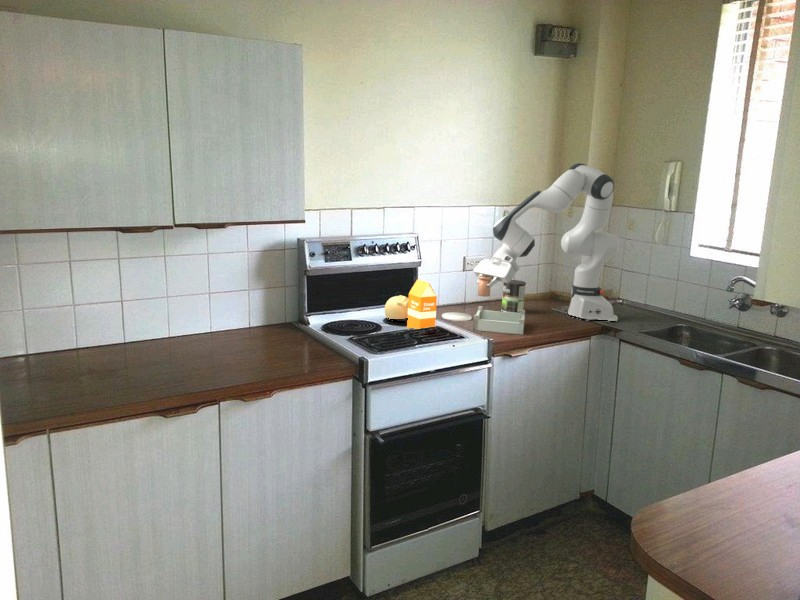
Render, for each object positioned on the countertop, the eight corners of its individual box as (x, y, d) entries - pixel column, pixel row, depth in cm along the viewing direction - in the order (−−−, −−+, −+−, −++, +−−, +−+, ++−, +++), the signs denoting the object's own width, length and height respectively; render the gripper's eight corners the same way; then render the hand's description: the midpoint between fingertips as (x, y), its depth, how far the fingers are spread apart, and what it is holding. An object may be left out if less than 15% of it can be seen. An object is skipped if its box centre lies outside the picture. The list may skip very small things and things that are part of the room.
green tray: (524, 323, 290) (525, 310, 288) (522, 334, 270) (524, 320, 269) (477, 319, 293) (478, 306, 292) (473, 330, 274) (474, 315, 273)
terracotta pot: (491, 294, 286) (492, 276, 285) (490, 297, 281) (491, 278, 279) (477, 293, 287) (478, 275, 286) (476, 296, 282) (477, 277, 280)
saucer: (473, 316, 300) (473, 313, 300) (470, 322, 288) (470, 320, 287) (444, 313, 302) (444, 311, 302) (440, 319, 290) (440, 317, 290)
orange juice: (422, 327, 275) (425, 278, 271) (435, 332, 268) (438, 282, 264) (406, 328, 271) (409, 279, 267) (418, 333, 263) (421, 283, 260)
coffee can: (507, 314, 307) (509, 283, 305) (497, 309, 317) (499, 279, 314) (527, 313, 311) (530, 283, 308) (517, 309, 320) (519, 279, 317)
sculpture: (407, 324, 278) (409, 299, 276) (380, 321, 281) (381, 296, 279) (415, 319, 289) (417, 294, 286) (389, 316, 292) (390, 291, 290)
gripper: (481, 253, 293) (463, 276, 289) (515, 259, 277) (496, 284, 273) (488, 262, 297) (470, 286, 293) (522, 269, 280) (503, 294, 276)
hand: (483, 285), depth 283 cm, fingers closed on terracotta pot, 5 cm apart
